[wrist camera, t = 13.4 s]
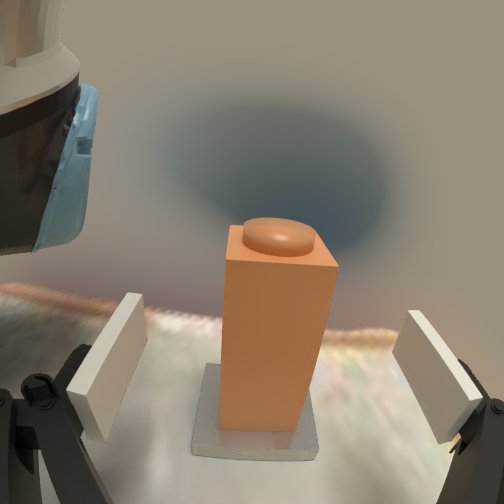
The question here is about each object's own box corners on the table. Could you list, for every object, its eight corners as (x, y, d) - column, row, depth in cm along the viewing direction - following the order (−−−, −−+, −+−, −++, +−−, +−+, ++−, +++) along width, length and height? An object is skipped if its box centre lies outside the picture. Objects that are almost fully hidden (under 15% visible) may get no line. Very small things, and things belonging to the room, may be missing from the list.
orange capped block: (219, 429, 18) (226, 241, 13) (222, 378, 23) (231, 211, 18) (295, 431, 18) (342, 249, 13) (287, 380, 23) (317, 218, 18)
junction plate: (192, 454, 17) (186, 386, 15) (206, 376, 25) (206, 305, 22) (313, 460, 17) (342, 394, 15) (302, 381, 25) (318, 313, 22)
